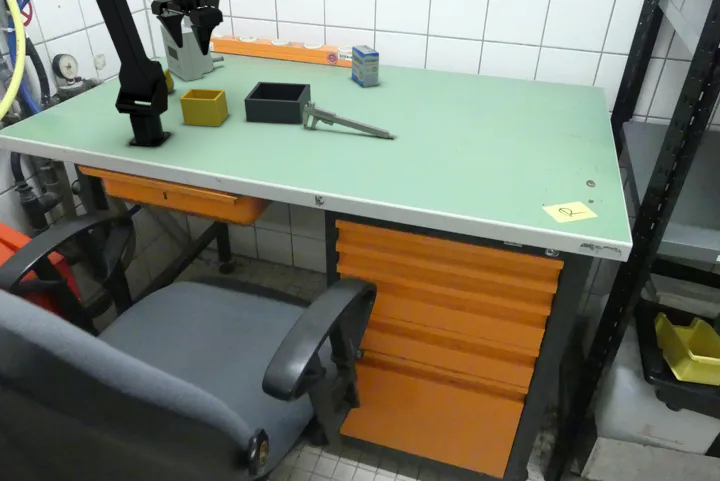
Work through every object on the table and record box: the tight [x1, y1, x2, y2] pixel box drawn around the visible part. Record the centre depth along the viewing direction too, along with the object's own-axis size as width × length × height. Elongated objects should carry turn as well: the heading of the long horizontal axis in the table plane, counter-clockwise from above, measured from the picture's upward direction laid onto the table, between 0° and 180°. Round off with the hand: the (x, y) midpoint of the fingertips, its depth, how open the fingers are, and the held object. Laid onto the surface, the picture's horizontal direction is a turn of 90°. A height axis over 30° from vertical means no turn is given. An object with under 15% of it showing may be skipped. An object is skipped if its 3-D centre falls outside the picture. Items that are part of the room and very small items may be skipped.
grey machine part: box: [159, 16, 225, 82], centre depth 145 cm, size 12×14×15 cm
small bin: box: [179, 88, 229, 127], centre depth 119 cm, size 6×8×6 cm
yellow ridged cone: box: [163, 69, 175, 94], centre depth 133 cm, size 5×5×10 cm
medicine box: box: [351, 44, 380, 88], centre depth 141 cm, size 8×4×9 cm, turn 25°
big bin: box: [243, 81, 312, 125], centre depth 123 cm, size 12×13×5 cm
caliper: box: [302, 100, 395, 139], centre depth 114 cm, size 20×1×6 cm, turn 75°
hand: (192, 51), depth 122 cm, fingers open, 9 cm apart
